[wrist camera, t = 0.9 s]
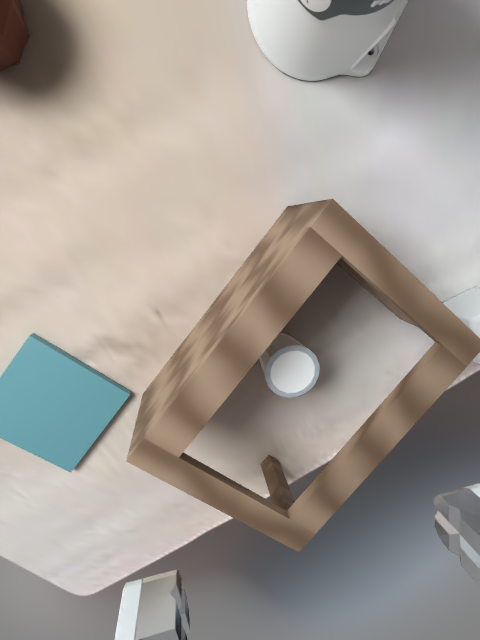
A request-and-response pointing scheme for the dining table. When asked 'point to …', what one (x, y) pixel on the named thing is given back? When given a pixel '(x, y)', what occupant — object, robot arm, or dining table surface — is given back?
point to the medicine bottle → (467, 311)
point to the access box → (251, 342)
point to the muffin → (11, 32)
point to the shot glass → (289, 367)
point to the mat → (55, 403)
